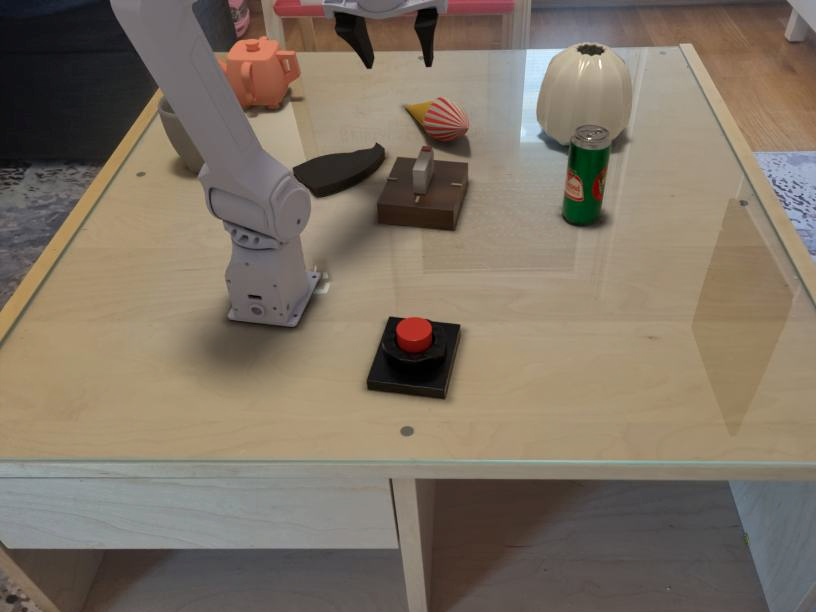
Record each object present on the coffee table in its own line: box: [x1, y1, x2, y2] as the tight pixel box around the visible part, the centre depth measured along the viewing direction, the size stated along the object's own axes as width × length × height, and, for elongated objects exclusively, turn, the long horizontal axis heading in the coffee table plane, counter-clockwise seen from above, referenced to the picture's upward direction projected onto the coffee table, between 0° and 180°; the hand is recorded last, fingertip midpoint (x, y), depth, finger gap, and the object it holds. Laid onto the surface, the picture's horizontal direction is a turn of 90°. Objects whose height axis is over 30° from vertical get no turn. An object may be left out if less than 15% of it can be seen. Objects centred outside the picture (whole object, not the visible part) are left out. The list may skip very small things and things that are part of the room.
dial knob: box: [413, 145, 435, 194], centre depth 98 cm, size 6×2×4 cm, turn 171°
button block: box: [366, 316, 462, 399], centre depth 78 cm, size 10×8×3 cm
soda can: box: [561, 124, 613, 226], centre depth 94 cm, size 5×5×12 cm
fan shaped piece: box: [292, 142, 386, 198], centre depth 106 cm, size 8×14×2 cm, turn 125°
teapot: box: [216, 35, 302, 110], centre depth 120 cm, size 12×12×10 cm
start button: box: [396, 316, 432, 353], centre depth 77 cm, size 4×4×2 cm
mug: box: [156, 95, 205, 174], centre depth 106 cm, size 12×9×10 cm
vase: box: [535, 41, 633, 147], centre depth 110 cm, size 14×14×13 cm
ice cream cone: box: [404, 96, 470, 143], centre depth 114 cm, size 6×6×20 cm
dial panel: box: [376, 156, 469, 231], centre depth 100 cm, size 12×10×3 cm
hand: (400, 62), depth 93 cm, fingers open, 7 cm apart
